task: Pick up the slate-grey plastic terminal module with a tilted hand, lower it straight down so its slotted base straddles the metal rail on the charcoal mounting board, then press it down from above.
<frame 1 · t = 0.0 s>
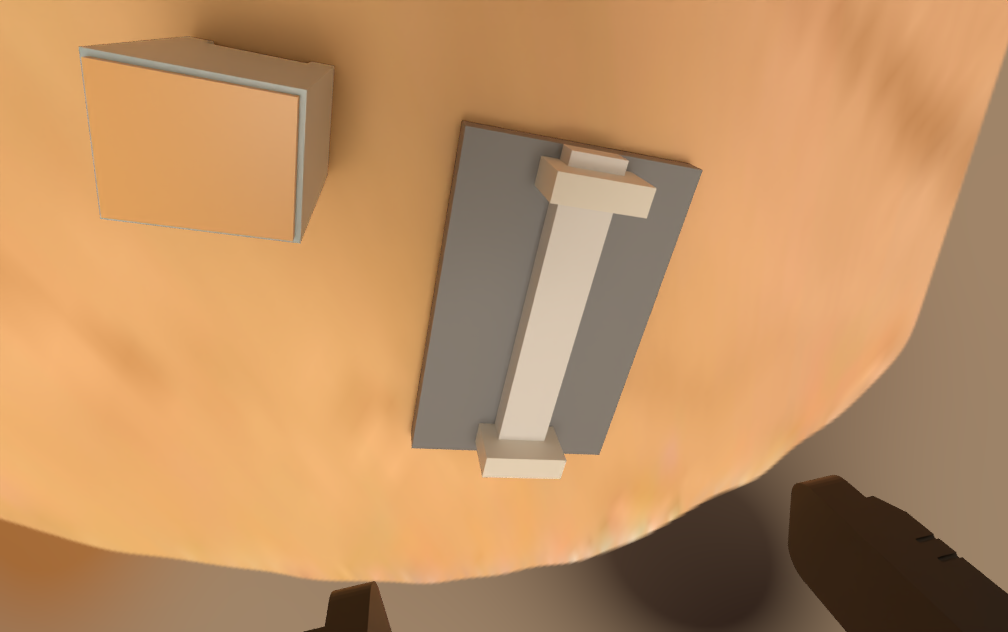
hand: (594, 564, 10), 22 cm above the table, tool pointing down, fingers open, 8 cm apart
terminal module: (265, 108, 26), on the table
mounting board: (538, 309, 33), on the table
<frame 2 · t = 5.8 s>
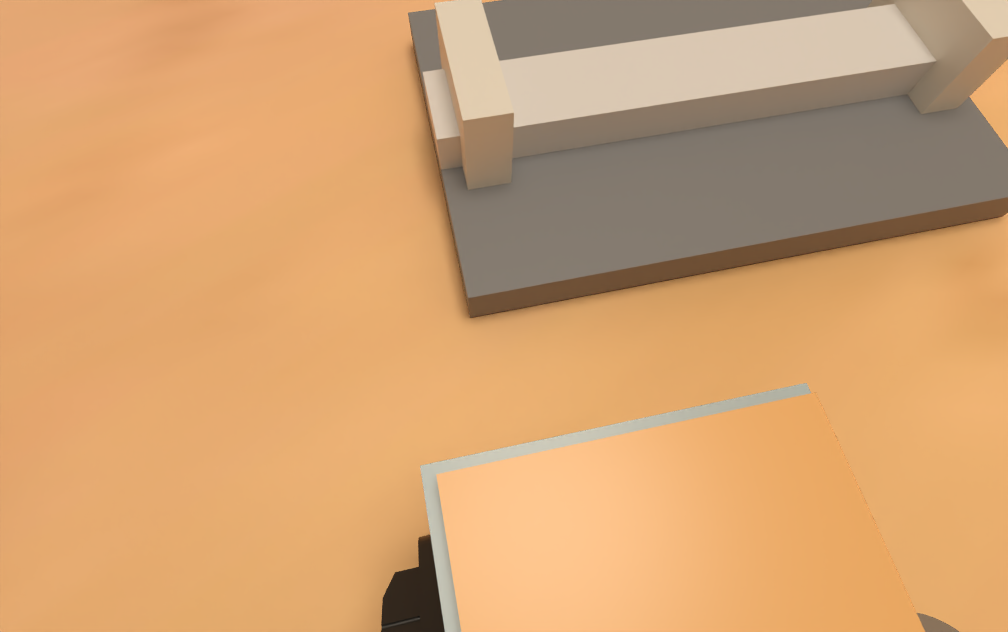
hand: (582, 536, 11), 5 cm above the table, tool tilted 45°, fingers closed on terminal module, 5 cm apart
terminal module: (574, 615, 15), on the table, touching gripper
mounting board: (686, 124, 22), on the table
when the fingers open (7 cm above the table, at t = 11.7 s): terminal module stays where it is, resting on mounting board.
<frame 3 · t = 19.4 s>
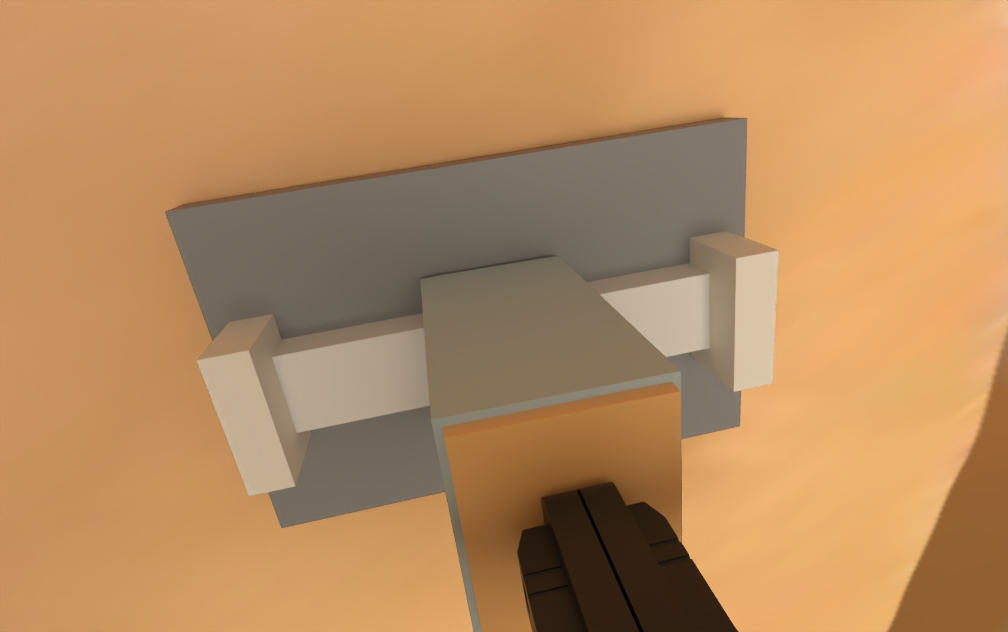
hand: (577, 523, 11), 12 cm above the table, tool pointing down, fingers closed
terminal module: (498, 338, 21), point 1 cm above the table, touching gripper, mounting board
mounting board: (493, 322, 22), on the table
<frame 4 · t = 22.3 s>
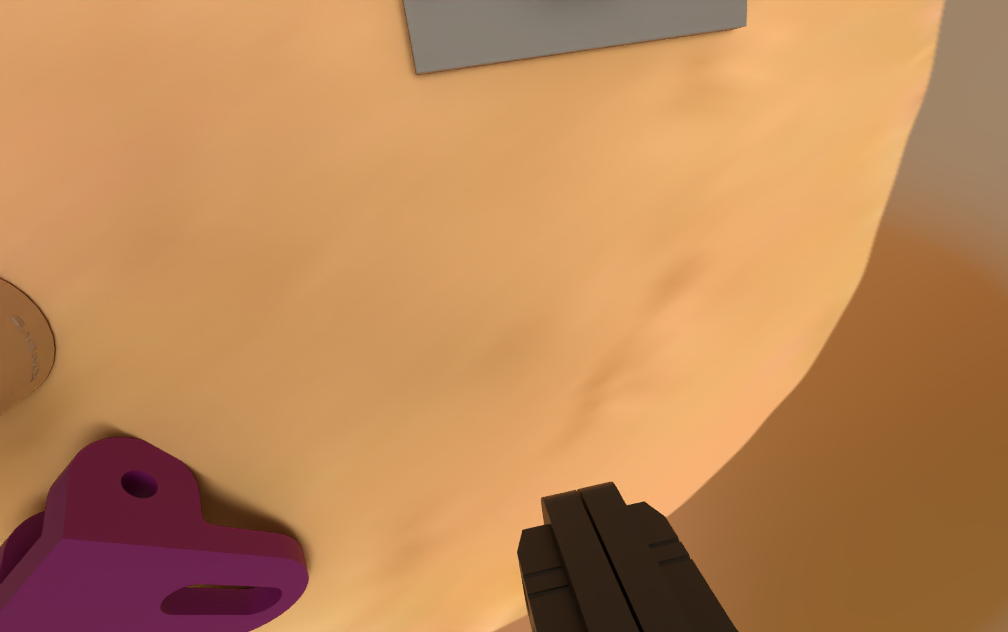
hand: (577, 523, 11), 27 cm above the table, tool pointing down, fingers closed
mounting bracket: (196, 527, 41), on the table
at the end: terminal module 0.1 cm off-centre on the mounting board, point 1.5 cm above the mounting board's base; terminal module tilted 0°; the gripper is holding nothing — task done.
